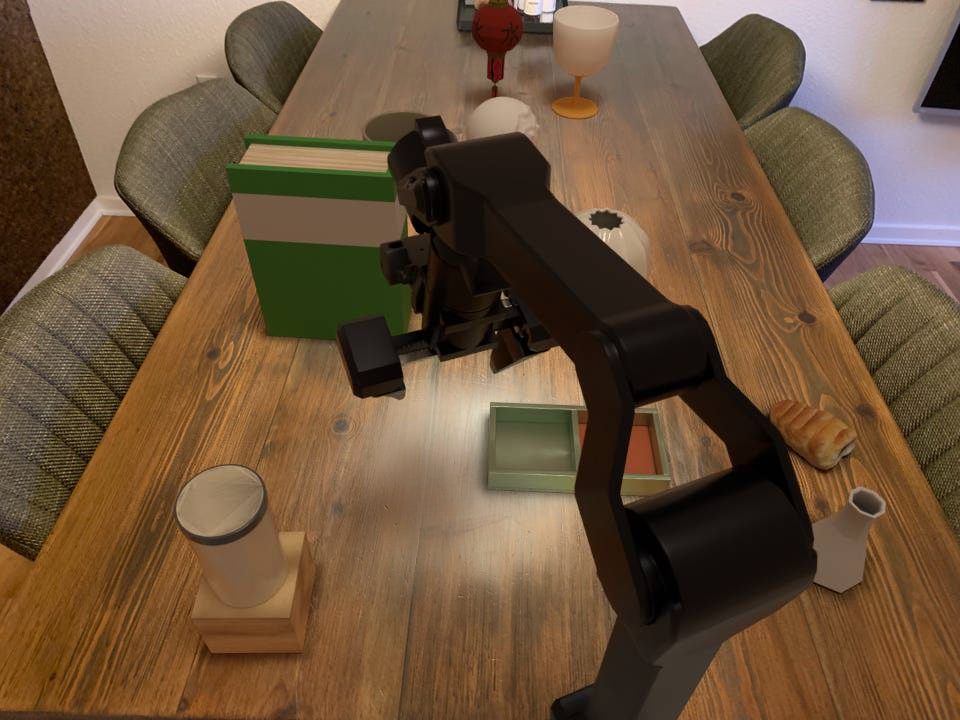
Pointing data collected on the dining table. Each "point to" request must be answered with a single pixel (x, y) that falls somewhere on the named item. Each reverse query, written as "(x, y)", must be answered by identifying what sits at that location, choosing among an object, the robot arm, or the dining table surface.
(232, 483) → the jar
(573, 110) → the cup
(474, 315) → the robot arm
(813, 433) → the pastry
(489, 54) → the lantern
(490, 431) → the tray
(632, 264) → the vase
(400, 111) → the planter
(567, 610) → the dining table surface
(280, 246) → the hardback book
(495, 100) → the decorative ball
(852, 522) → the flask
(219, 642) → the riser
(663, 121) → the dining table surface
